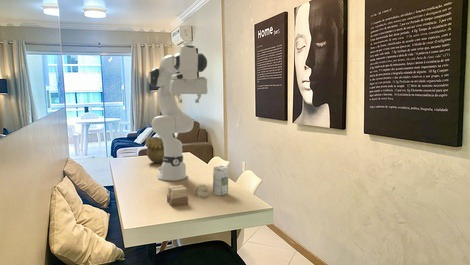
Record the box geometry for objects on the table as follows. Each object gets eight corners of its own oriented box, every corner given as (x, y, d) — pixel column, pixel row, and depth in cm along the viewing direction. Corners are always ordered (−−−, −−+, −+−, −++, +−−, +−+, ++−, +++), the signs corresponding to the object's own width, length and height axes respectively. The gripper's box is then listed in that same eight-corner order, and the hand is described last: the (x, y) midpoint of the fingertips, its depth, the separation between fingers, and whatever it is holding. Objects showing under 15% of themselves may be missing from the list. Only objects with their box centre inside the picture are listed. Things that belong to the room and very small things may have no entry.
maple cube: (195, 194, 184) (195, 185, 184) (204, 193, 186) (204, 184, 186) (198, 197, 180) (198, 187, 179) (207, 196, 182) (207, 186, 181)
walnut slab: (167, 202, 171) (166, 194, 171) (183, 200, 175) (183, 192, 174) (171, 207, 164) (171, 199, 164) (188, 205, 168) (188, 197, 167)
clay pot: (155, 159, 281) (154, 134, 279) (179, 161, 274) (178, 135, 272) (139, 164, 262) (139, 137, 260) (164, 166, 255) (164, 138, 252)
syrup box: (220, 192, 190) (220, 165, 188) (228, 194, 186) (228, 166, 184) (212, 194, 185) (212, 166, 184) (221, 196, 181) (221, 168, 180)
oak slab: (168, 194, 171) (168, 186, 170) (182, 193, 174) (182, 185, 173) (172, 198, 164) (172, 190, 164) (186, 196, 167) (186, 188, 167)
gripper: (204, 77, 193) (204, 102, 194) (168, 76, 183) (168, 102, 185) (209, 76, 187) (209, 103, 189) (171, 75, 178) (172, 103, 179)
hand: (188, 102), depth 187 cm, fingers open, 8 cm apart
